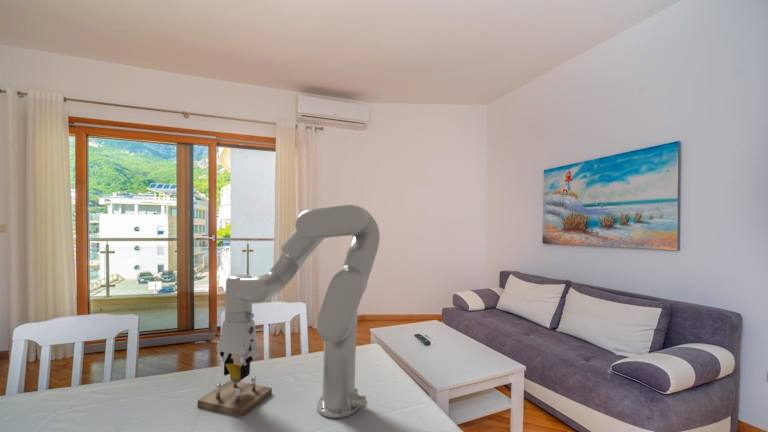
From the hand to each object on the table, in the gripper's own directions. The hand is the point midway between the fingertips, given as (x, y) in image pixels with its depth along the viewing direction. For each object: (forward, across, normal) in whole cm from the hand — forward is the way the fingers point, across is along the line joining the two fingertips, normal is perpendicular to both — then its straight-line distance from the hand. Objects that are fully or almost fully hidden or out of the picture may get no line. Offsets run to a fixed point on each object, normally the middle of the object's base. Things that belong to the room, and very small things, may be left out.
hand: (236, 374), depth 98 cm
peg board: (+8, 0, 0) cm, 8 cm away
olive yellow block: (+2, 0, 0) cm, 2 cm away
